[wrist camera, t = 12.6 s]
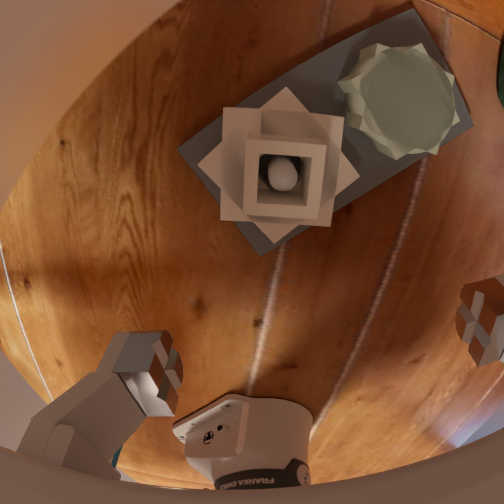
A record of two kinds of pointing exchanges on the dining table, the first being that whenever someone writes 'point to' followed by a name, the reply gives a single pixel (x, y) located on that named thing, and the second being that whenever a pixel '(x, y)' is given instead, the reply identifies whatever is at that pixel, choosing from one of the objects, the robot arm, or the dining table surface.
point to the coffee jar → (501, 77)
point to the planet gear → (279, 143)
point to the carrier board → (331, 103)
